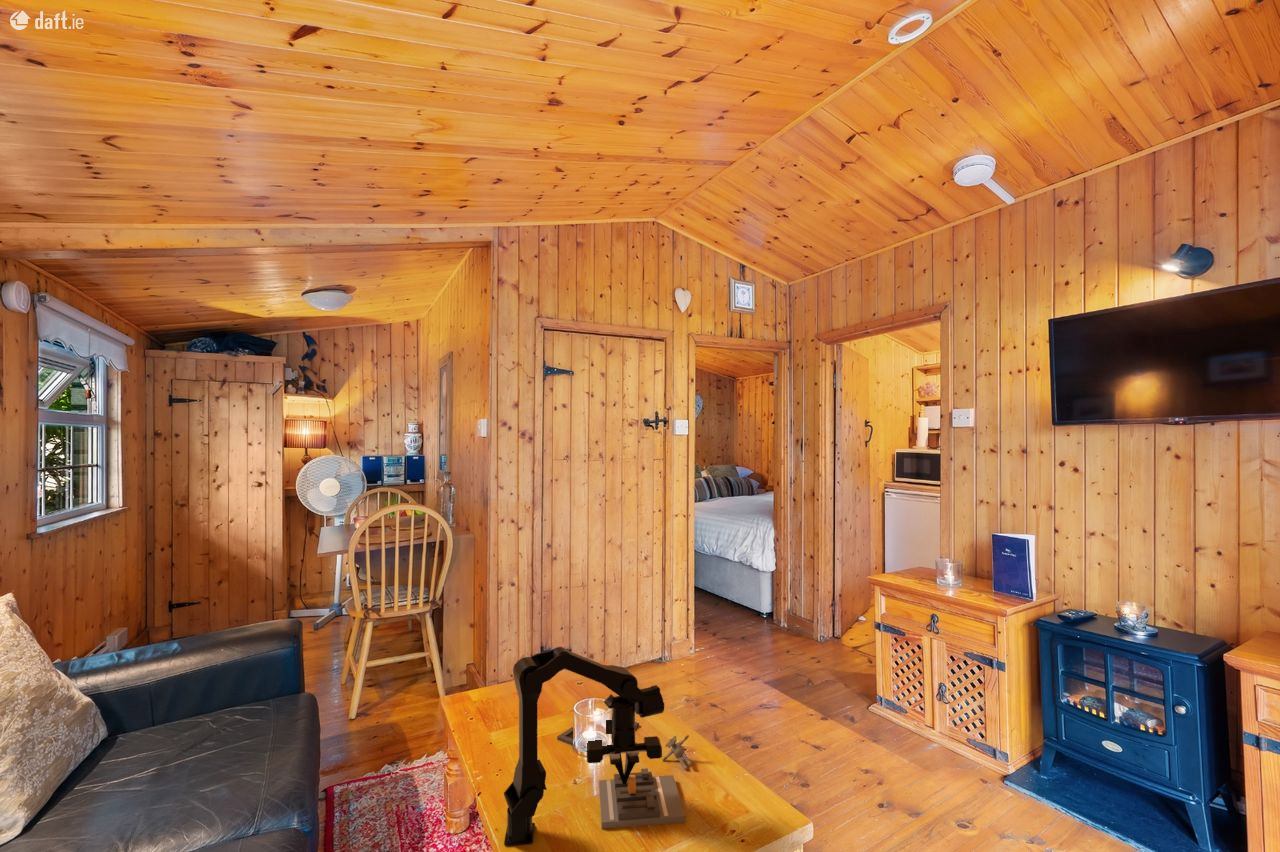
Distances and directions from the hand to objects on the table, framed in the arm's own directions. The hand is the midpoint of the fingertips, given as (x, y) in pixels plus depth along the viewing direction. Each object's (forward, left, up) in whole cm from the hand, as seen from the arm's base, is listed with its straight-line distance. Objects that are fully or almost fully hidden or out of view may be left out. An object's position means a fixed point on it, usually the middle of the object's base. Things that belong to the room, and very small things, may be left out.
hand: (624, 783), depth 145 cm
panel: (0, -4, -5) cm, 7 cm away
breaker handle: (0, -2, -2) cm, 3 cm away
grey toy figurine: (+17, -17, -6) cm, 25 cm away
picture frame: (+36, +5, -6) cm, 37 cm away
